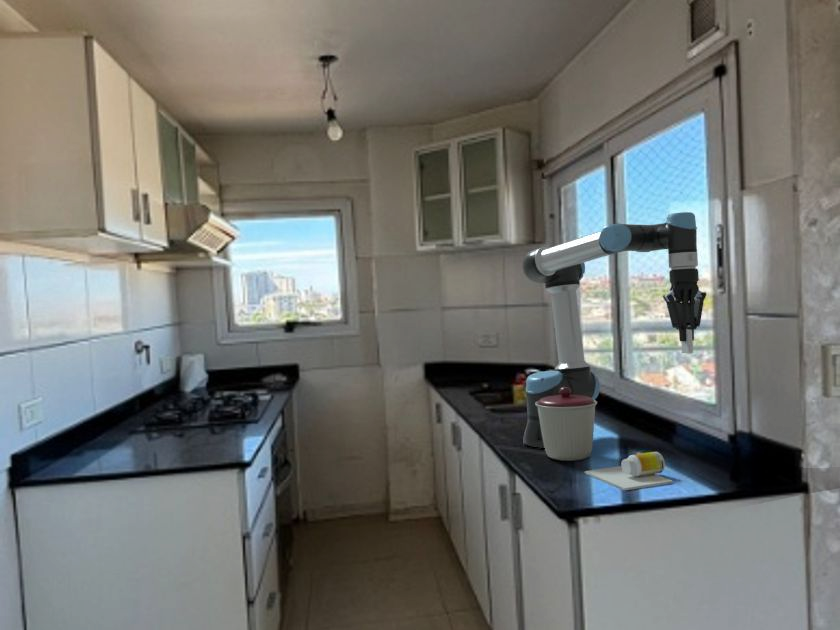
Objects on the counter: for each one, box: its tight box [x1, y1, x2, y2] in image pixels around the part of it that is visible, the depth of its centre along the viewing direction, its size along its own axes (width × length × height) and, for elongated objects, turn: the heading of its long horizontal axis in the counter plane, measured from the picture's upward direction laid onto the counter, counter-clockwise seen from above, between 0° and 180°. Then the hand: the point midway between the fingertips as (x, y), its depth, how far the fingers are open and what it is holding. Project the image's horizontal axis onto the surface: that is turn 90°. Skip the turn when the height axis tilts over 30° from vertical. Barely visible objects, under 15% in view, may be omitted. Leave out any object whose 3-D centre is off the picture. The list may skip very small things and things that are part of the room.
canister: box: [535, 387, 598, 462], centre depth 193 cm, size 18×18×21 cm
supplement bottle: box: [620, 451, 666, 477], centre depth 168 cm, size 6×6×10 cm
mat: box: [584, 465, 674, 492], centre depth 168 cm, size 18×14×1 cm
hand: (687, 352), depth 181 cm, fingers closed
